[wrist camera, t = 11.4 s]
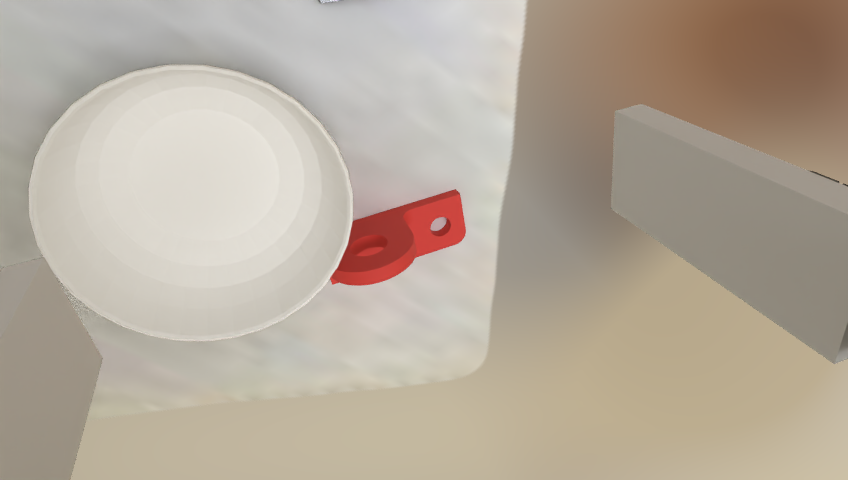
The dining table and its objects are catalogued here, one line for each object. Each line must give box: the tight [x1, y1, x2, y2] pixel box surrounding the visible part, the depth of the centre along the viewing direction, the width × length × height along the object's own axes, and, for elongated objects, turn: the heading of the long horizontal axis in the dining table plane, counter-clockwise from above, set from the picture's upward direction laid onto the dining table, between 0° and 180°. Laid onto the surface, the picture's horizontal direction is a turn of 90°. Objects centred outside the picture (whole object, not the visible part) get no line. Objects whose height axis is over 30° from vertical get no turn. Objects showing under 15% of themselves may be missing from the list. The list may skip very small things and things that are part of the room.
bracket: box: [330, 189, 466, 285], centre depth 44 cm, size 12×4×8 cm, turn 100°
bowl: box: [28, 64, 353, 341], centre depth 37 cm, size 18×18×7 cm
